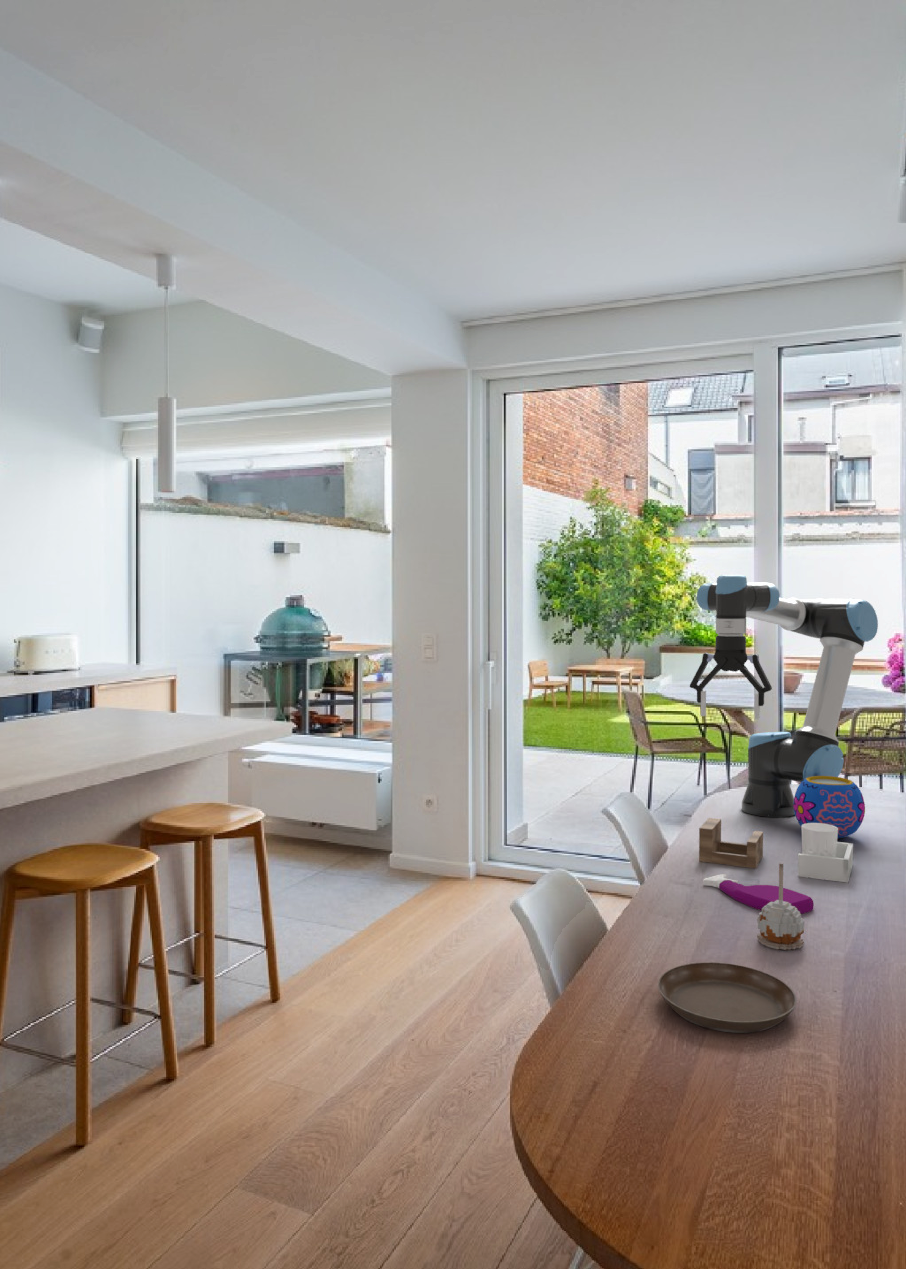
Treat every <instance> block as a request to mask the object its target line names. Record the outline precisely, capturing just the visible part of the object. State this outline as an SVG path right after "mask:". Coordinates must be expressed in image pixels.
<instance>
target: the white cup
mask: <svg viewBox="0 0 906 1269" xmlns="http://www.w3.org/2000/svg"><path fill="white" fill-rule="evenodd" d="M800 827H801V854H809V855H818V856H827V857H835V858H836V851H837V842H838V839H837V837H838V828H837V827H835V826H833V825H829V824H823V823H806V824H803V825H801V826H800Z"/></svg>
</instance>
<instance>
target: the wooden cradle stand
mask: <svg viewBox="0 0 906 1269" xmlns="http://www.w3.org/2000/svg"><path fill="white" fill-rule="evenodd" d="M698 835H699V836H698V839H699V840H698V845H699V846H698V856H699V857H698V861H699V862H703V863H710V864H719V865H726V866H727V865H728V866H733V867H734V866H735V867H743V868H751V869H756V868H757V867H758V865H759V863H760V862H761V860H762V858H764V831H760V830H759V831H758V830H754V831H753V833H751V835H750V837H749V838H748V840H747V841H746V843H741V842H740V843H739V842H733V841H732V842H730V841H723V840H722V818H715V817H714V818H713V817H708V818H707V819H706V820H705V821H704V822H703V823H702V825H701V826H699V834H698Z"/></svg>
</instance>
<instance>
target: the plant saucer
mask: <svg viewBox="0 0 906 1269" xmlns="http://www.w3.org/2000/svg"><path fill="white" fill-rule="evenodd" d="M657 987H658V990H659V993H660V994H661V996H662V998H663V999H664V1001H665V1002H666V1003H667V1004H668V1006H669V1007H670V1008H671V1009H672V1010H673V1011H674V1012H675V1013H677V1014H678V1015H679V1016H680V1017H682V1018H683V1019H685V1020H686V1021H688V1022H690V1023H693V1024H695V1025H697V1026H700V1027H702V1028H705V1029H710V1030H713V1031H716V1032H717V1031H719V1032H725V1033H734V1034H736V1033H741V1034H743V1033H744V1034H745V1033H746V1034H748V1033H757V1032H762V1031H765V1030H769V1029H771V1028H773V1027H776V1025H779V1024H780V1023H782V1022H783V1021H784V1020H786V1018H787V1017H788V1016H790V1014H791V1013H792V1012H793V1010H795V1009H794V1008H795V1007H796V1005H797V995H796V993H795V991H794V990H793V989H792V988H791V987H790V986H789V985H788V984H787V983H786V982H784V981H782V979H779V978H777V977H776V976H774V975H772V974H770V973H767V972H764V971H762V970H760V969H755V968H752V967H748V966H743V965H740V964H733V963H726V962H692V963H686V964H682V965H678V966H675V967H673V968H670V969H668V970H667V971H665V972H664V973H663V974H662V975H661V976H660V977H659V979H658V980H657Z"/></svg>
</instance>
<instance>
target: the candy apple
mask: <svg viewBox="0 0 906 1269" xmlns="http://www.w3.org/2000/svg"><path fill="white" fill-rule="evenodd" d="M778 886H779V900H776V901H775V902H770V903H768V904H767V905H766V906H764V907H763V908H762V911H761V912H759V913H758V916H757V919H756V920H757V921H756V922H757V929H758V930H759V933H758V934H757V936H756V938H757V941H758V942H759V943H760V944H761V945H764V946H766V947H767V948H771V949H775V950H785V951H786V950H795V949H801V948H803V946H804V945H805V942H804V939H803V938H801V937H802V935H803V934H804V931H805V920H804V918H803V917H802V914H800V911H798V910H797V908H795V907H794V906H791V904H790V903H789V902H785V901H783V888H784V863H781V862H780V863H779V864H778Z"/></svg>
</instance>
